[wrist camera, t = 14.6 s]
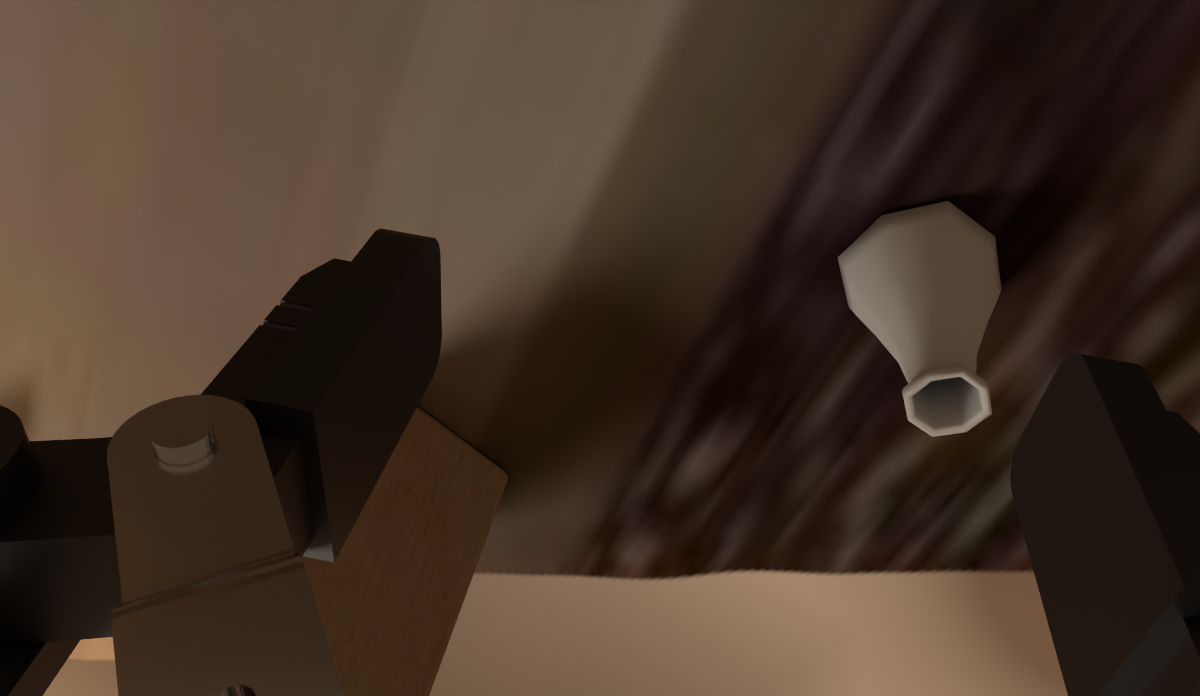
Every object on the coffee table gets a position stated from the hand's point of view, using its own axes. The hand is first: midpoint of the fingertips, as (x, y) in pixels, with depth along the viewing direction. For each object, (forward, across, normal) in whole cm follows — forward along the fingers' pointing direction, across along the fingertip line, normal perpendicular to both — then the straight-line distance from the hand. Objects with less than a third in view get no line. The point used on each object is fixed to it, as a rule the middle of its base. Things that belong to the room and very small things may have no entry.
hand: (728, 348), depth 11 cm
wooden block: (+28, +16, +34) cm, 47 cm away
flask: (+28, -10, +14) cm, 33 cm away
